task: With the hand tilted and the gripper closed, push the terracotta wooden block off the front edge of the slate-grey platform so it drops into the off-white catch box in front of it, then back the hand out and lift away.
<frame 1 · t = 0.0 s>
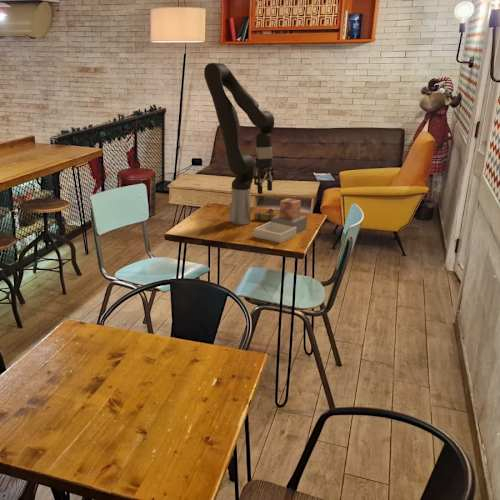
hand: (264, 192, 221), 17 cm above the table, tool pointing down, fingers open, 8 cm apart
catch box: (275, 236, 215), on the table
grey platform: (289, 229, 225), on the table
terracotta block: (289, 217, 223), point 6 cm above the table, touching grey platform
gavel: (268, 217, 246), on the table
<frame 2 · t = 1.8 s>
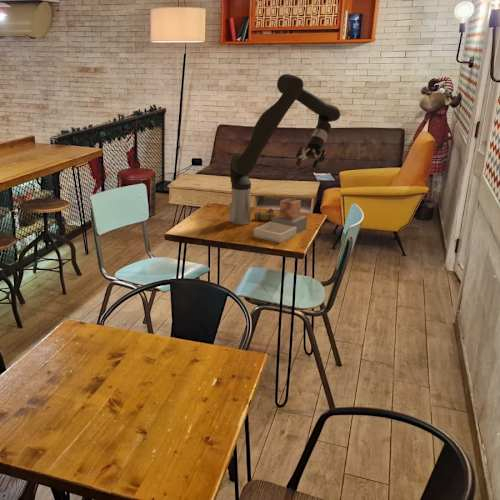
hand: (305, 166, 231), 27 cm above the table, tool tilted 45°, fingers open, 8 cm apart
nothing on the table moved.
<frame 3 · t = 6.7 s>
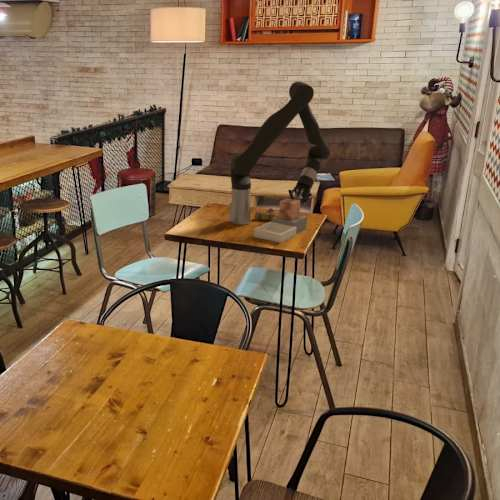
hand: (293, 208, 225), 9 cm above the table, tool tilted 45°, fingers closed
terracotta block: (289, 217, 223), point 6 cm above the table, touching grey platform, gripper
everything else where it was.
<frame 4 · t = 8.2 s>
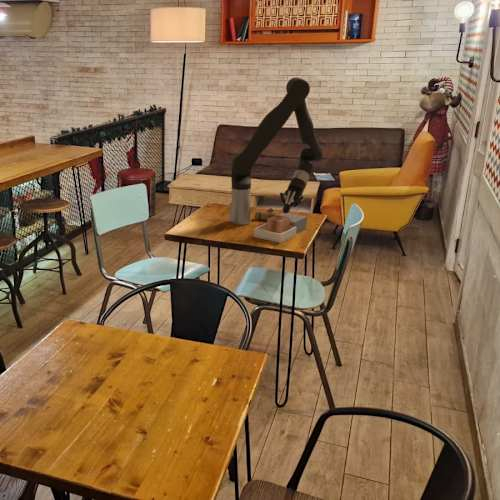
hand: (284, 212, 218), 9 cm above the table, tool tilted 45°, fingers closed
terracotta block: (282, 223, 218), point 4 cm above the table, tilted 90°, touching catch box
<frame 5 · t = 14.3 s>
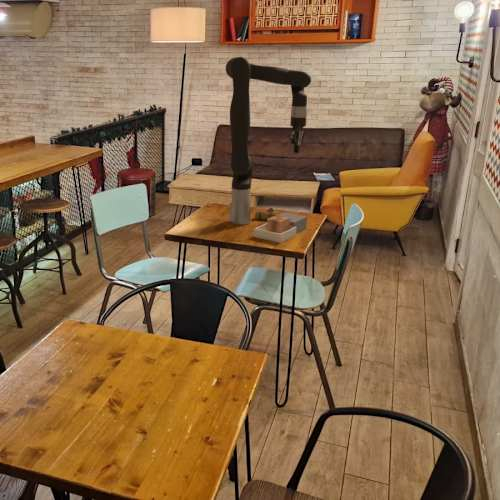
hand: (296, 152, 233), 33 cm above the table, tool pointing down, fingers closed
at the end: terracotta block inside the target area on the catch box (6.0 cm from its centre), point 4.5 cm above the catch box's base; terracotta block touching catch box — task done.
